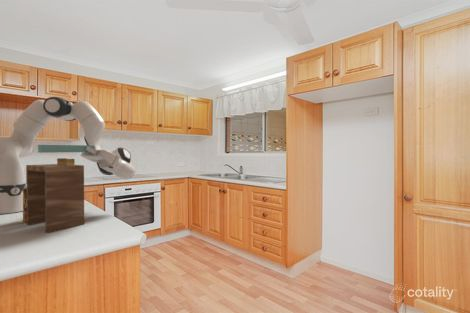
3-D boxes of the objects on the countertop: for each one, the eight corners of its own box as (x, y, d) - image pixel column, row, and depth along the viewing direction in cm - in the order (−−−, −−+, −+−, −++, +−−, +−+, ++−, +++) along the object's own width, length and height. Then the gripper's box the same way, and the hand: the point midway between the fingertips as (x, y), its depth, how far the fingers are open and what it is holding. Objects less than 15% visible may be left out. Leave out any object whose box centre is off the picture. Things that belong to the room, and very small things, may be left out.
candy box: (22, 222, 111) (22, 188, 111) (24, 220, 115) (23, 187, 114) (47, 219, 116) (47, 187, 115) (48, 217, 119) (47, 186, 119)
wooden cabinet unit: (26, 224, 108) (26, 158, 108) (62, 217, 120) (62, 157, 119) (47, 232, 98) (46, 159, 97) (84, 224, 110) (83, 158, 109)
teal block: (38, 152, 104) (38, 144, 104) (91, 152, 122) (91, 145, 122) (41, 152, 102) (41, 144, 102) (95, 152, 121) (95, 145, 120)
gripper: (99, 155, 134) (75, 142, 124) (122, 156, 124) (98, 141, 113) (93, 166, 132) (68, 153, 122) (116, 167, 121) (91, 153, 111)
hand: (83, 147), depth 117 cm, fingers closed on teal block, 3 cm apart
